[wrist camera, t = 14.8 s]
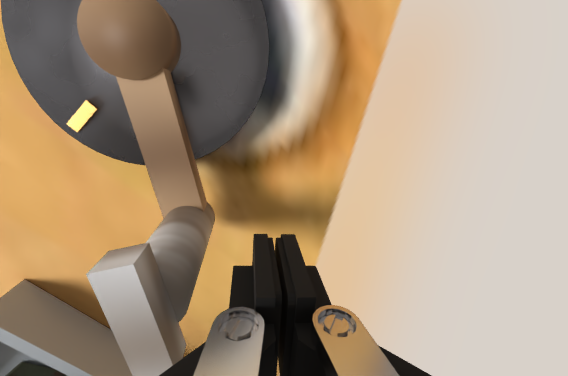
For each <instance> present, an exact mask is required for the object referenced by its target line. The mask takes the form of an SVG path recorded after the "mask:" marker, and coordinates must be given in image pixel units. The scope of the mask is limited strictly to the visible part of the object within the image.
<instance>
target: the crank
mask: <svg viewBox="0 0 568 376" xmlns="http://www.w3.org/2000/svg"><path fill="white" fill-rule="evenodd" d="M77 28H78V34H79V37H80V40H81V43H82V45H83V47H84V49H85V51H86V52H87V54H88V55H89V56H90V58H91V59H92V60H93V61H94V62H95V63H96V64H97V65H98V66H99V67H100V68H102V69H103V70H104V71H106V72H108V73H110V74H111V75H114V76H116V78H117V81H118V84H119V87H120V90H121V93H122V96H123V99H124V102H125V105H126V108H127V111H128V114H129V117H130V120H131V123H132V126H133V129H134V132H135V135H136V138H137V141H138V144H139V147H140V150H141V153H142V156H143V159H144V162H145V165H146V168H147V171H148V174H149V177H150V180H151V183H152V186H153V188H154V191H155V194H156V197H157V200H158V203H159V206H160V209H161V212H162V215H163V218H164V219H163V221H162V222H161V223H160V225H159V226H158V227H157V229H156V230H155V231H154V233H153V234H152V235H151V237H150V238H149V239H148V241H147V242H146V243H145V244H140V245H135V246H130V247H125V248H121V249H116V250H111V251H108V252H107V253H106V254H105V255H104V256H103V257H102V258H101V259H100V261H99V262H98V263H97V264H96V265H95V266H94V267H93V268H92V269H91V270H90V271H89V272H88V273H87V274H86V275H87V277H88V279H89V282H90V284H91V286H92V288H93V290H94V293H95V295H96V297H97V299H98V301H99V303H100V306H101V308H102V310H103V312H104V314H105V317H106V319H107V321H108V323H109V325H110V327H111V330H112V332H113V334H114V336H115V338H116V341H117V343H118V345H119V347H120V349H121V351H122V354H123V356H124V358H125V360H126V362H127V365H128V367H129V369H130V371H131V373H132V375H133V376H159V375H160V374H162V373H163V372H164V371H166V370H167V369H169V368H170V367H171V366H173V365H174V364H176V363H177V362H178V361H180V360H181V359H183V355H184V352H185V348H186V343H185V340H184V337H183V334H182V332H181V329H180V326H179V323H178V322H179V321H181V320H182V318H183V317H184V316H185V314H186V312H187V310H188V307H189V303H190V300H191V297H192V294H193V290H194V287H195V284H196V281H197V277H198V274H199V271H200V267H201V264H202V261H203V258H204V254H205V251H206V248H207V245H208V241H209V238H210V235H211V232H212V228H213V225H214V221H215V214H214V211H213V209H212V207H211V206H210V204H209V203H207V201H206V198H205V194H204V191H203V187H202V183H201V180H200V176H199V173H198V169H197V165H196V162H195V158H194V155H193V151H192V148H191V144H190V140H189V137H188V133H187V130H186V126H185V122H184V119H183V115H182V112H181V108H180V104H179V101H178V97H177V94H176V90H175V86H174V83H173V79H172V76H171V72H172V71H173V70H174V68H175V67H176V65H177V63H178V61H179V58H180V53H181V39H180V35H179V31H178V29H177V26H176V24H175V22H174V21H173V19H172V18H171V16H170V15H169V14H168V13H167V12H166V10H165V9H164V8H163V7H162V6H161V5H160V4H159V3H158V2H157V1H156V0H82V1H81V4H80V6H79V9H78V14H77Z"/></svg>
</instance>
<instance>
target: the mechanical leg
mask: <svg viewBox="0 0 568 376" xmlns="http://www.w3.org/2000/svg"><path fill="white" fill-rule="evenodd" d="M5 376H67V375H65V374H64V373H62V372H60V371H58V370H56V369H53V368H49V367H44V366H40V365H35V364H31V363H26V362H20V363H19V364H18V365H17V366H16V367H15V368H14V369H12V370H11V371H10V372H9V373H8V374H7V375H5Z"/></svg>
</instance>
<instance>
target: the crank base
mask: <svg viewBox="0 0 568 376" xmlns="http://www.w3.org/2000/svg"><path fill="white" fill-rule="evenodd" d="M81 1H82V0H1V9H2V22H3V27H4V32H5V38H6V42H7V45H8V48H9V51H10V54H11V57H12V60H13V62H14V64H15V66H16V69H17V71H18V73H19V75H20V77H21V79H22V80H23V82H24V84H25V85H26V87H27V89H28V90H29V92H30V94H31V95H32V96H33V98H34V99H35V100H36V102H37V103H38V104H39V106H40V107H41V108H42V109H43V110H44V111H45V112H46V114H47V115H48V116H49V117H50V118H51V119H52V120H53V121H54V122H55V123H56V124H57V125H59V126H60V127H61V128H62V129H63V130H64V131H66V132H67V133H68V134H69V135H71V136H72V137H74V138H75V139H76V140H78V141H79V142H81V143H82V144H84V145H86V146H88V147H89V148H91V149H93V150H95V151H97V152H99V153H101V154H104V155H106V156H109V157H111V158H114V159H117V160H121V161H125V162H128V163H134V164H140V165H145V162H144V159H143V156H142V153H141V150H140V147H139V144H138V141H137V138H136V135H135V132H134V129H133V126H132V123H131V120H130V117H129V114H128V111H127V108H126V105H125V102H124V99H123V96H122V93H121V90H120V87H119V84H118V81H117V78H116V76H114V75H111V74H110V73H108V72H106V71H104V70H103V69H102V68H100V67H99V66H98V65H97V64H96V63H95V62H94V61H93V60H92V59H91V58H90V56H89V55H88V54H87V52H86V51H85V49H84V47H83V45H82V43H81V40H80V37H79V34H78V28H77V14H78V9H79V6H80V4H81ZM156 1H157V2H158V3H159V4H160V5H161V6H162V7H163V8H164V9H165V10H166V12H167V13H168V14H169V15H170V16H171V18H172V19H173V21H174V22H175V24H176V26H177V29H178V31H179V35H180V39H181V53H180V58H179V61H178V63H177V65H176V67H175V68H174V70H173V71H172V72H171V76H172V79H173V83H174V86H175V90H176V94H177V97H178V101H179V104H180V108H181V112H182V115H183V119H184V122H185V126H186V130H187V133H188V137H189V140H190V144H191V148H192V151H193V155H194V158H195V159H198V158H200V157H203V156H205V155H207V154H209V153H211V152H213V151H215V150H216V149H218V148H219V147H221V146H222V145H223V144H225V143H226V142H228V141H229V140H230V139H231V138H232V137H233V136H234V135H235V134H236V133H237V132H238V131H239V130H240V129H241V127H242V126H243V125H244V124H245V123H246V121H247V120H248V118H249V117H250V115H251V114H252V112H253V110H254V109H255V107H256V104H257V102H258V100H259V98H260V95H261V93H262V90H263V86H264V83H265V80H266V74H267V68H268V61H269V37H268V26H267V21H266V16H265V11H264V7H263V4H262V1H261V0H156Z"/></svg>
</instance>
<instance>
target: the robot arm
mask: <svg viewBox="0 0 568 376" xmlns="http://www.w3.org/2000/svg"><path fill="white" fill-rule="evenodd" d="M277 360H278V361H279V370H280V376H431V375H429V374H428V373H426V372H424V371H422V370H421V369H419V368H417V367H415V366H414V365H412V364H410V363H408V362H407V361H405V360H403V359H401V358H399V357H398V356H396V355H394V354H392V353H391V352H389V351H387V350H385V349H383V348H382V347H380V346H378V345H377V344H376V342H375V341H374V339H373V338H372V337H371V335H370V334H369V332H368V331H367V329H366V328H365V327H364V325H363V324H362V322H361V321H360V320H359V318H358V317H357V316H356V315H355V314H354V313H353V312H351V311H350V310H348V309H346V308H343V307H341V306H335V305H331V302H330V300H329V297H328V295H327V293H326V290H325V288H324V285H323V283H322V280H321V278H320V275H319V273H318V270H317V268H316V266H305V263H304V260H303V257H302V254H301V251H300V248H299V245H298V242H297V239H296V237H295V235H294V234H281V238H276V244H275V250H274V244H273V238H268V236H267V234H254V240H253V262H252V266H233V275H232V285H231V295H230V304H229V309H227V310H225V311H223V312H222V313H220V314H219V315H218V316H217V317H216V319H215V320H214V322H213V324H212V327H211V330H210V332H209V335H208V338H207V340H206V342H205V343H204V344H202V345H201V346H199V347H198V348H197V349H195V350H194V351H192V352H191V353H190V354H188V355H187V356H185V357H184V358H183V359H181V360H180V361H178V362H177V363H176V364H174V365H173V366H171V367H170V368H169V369H167V370H166V371H164V372H163V373H162V374H160V375H159V376H276V372H277Z"/></svg>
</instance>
